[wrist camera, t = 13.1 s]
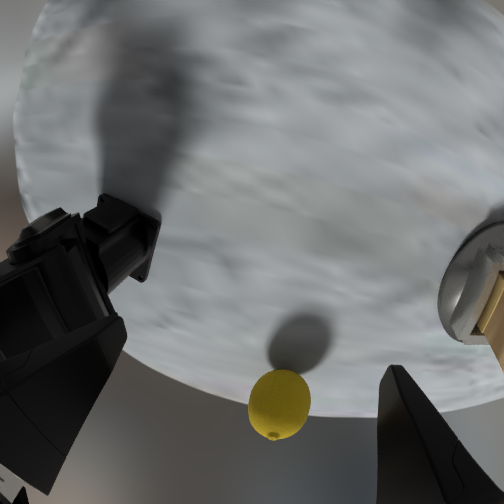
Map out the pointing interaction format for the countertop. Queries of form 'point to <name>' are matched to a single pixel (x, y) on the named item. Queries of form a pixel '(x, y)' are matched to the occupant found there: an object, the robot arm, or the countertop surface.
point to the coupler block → (494, 319)
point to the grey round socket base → (471, 284)
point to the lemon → (279, 404)
